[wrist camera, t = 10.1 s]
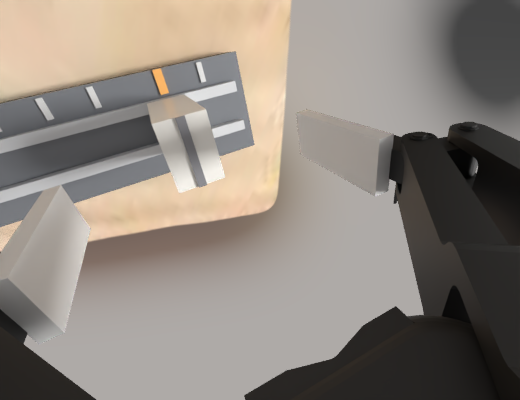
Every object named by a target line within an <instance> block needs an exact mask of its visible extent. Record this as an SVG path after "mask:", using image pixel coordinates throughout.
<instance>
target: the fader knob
mask: <svg viewBox="0 0 520 400" xmlns="http://www.w3.org/2000/svg"><path fill="white" fill-rule="evenodd" d="M147 106H148V111H149V115H150V120H151V124H152V127H153V129H154V132H155V134H156V137H157V139H158V142H159V144H160V147H161V149H162V152H163V154H164V157H165V159H166V162H167V164H168V166H169V169H170V171H171V174H172V176H173V179H174V181H175V184H176V186H177V189H178V191H179V193H181V192H184V191H187V190H190V189H193V188H196V187H202V186H205V185H207V183H210V182H213V181H216V180H219V179H222V178H225V174H224V171H223V167H222V164H221V160H220V157H219V153H218V150H217V146H216V143H215V139H214V136H213V132H212V128H211V125H210V121H209V118H208V114H207V111H206V109H205V108H204V107H202V106H201V105H199V104H198V103H196V102H195V101H193V100H192V99H190V98H189V97H187V96H186V95H184V94H183V95H179V96H175V97H171V98H167V99H163V100H159V101H155V102H151V103H147Z"/></svg>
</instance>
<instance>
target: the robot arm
mask: <svg viewBox="0 0 520 400" xmlns="http://www.w3.org/2000/svg"><path fill="white" fill-rule="evenodd" d="M296 116H297V126H298V136H299V145H300V154H301V155H303V156H304V157H306V158H308V159H310V160H312V161H313V162H315V163H317V164H319V165H321V166H322V167H324V168H326V169H327V170H329V171H331V172H333V173H334V174H336V175H338V176H340V177H341V178H344V179H345V180H347V181H349V182H350V183H352V184H354V185H356V186H357V187H359V188H361V189H363V190H365V191H367V192H368V193H370V194H372V195H373V196H378V195H380V194H382V193H384V192H387V191H388V186H389V179H391V180H393V181H396V188H395V196H394V204H395V203H397V201H398V204H399V208H400V212H401V217H402V220H403V225H404V229H405V233H406V238H407V242H408V247H409V251H410V255H411V259H412V264H413V268H414V272H415V276H416V281H417V285H418V289H419V293H420V298H421V302H422V306H423V312H424V315H416V316H408V317H407V316H406V315H405V314H403V313H402V312H401V311H400V310H399V309H398V308H397V307H394V308H392V309H390V310H389V311H387V312H385V313H384V314H382V315H380V316H379V317H377V318H375V319H373V320H372V321H370V322H368V323H367V324H365V325H363V326H362V328H361V329H360V330H359V331H358V332H357V333H356V334H355V336H354V337H353V338H352V339H351V340H350V341H349V342H348V343H347V345H346V346H345V347H344V348H343V349H342V350H341V351H340V353H339V354H338V355H337V356H336V357H334V358H333V359H330V360H326V361H322V362H318V363H314V364H311V365H307V366H303V367H299V368H295V369H291V370H287V371H285V372H284V373H282V374H280V375H278V376H277V377H275V378H273V379H271V380H270V381H268V382H266V383H265V384H263V385H261V386H260V387H258V388H256V389H254V390H253V391H251V392H249V393H248V394H246V395H245V396H244V397H245V400H520V141H518V140H516V139H514V138H512V137H510V136H507V135H505V134H503V133H501V132H498V131H496V130H494V129H492V128H490V127H488V126H485V125H482V124H477V123H474V122H464V123H458V124H454V125H452V126H450V128H449V133H448V137H443V138H437V137H436V136H435V135H434V134H431V133H425V132H413V133H408V134H405V135H403V136H402V137H399V136H396V135H394V134H391V133H388V132H385V131H381V130H378V129H374V128H371V127H367V126H364V125H360V124H356V123H353V122H350V121H346V120H342V119H339V118H335V117H332V116H328V115H325V114H322V113H317V112H314V111H311V110H303V111H300V112H297V113H296ZM477 165H478V171H477V174H476V173H475V171H476V168H477ZM90 229H91V228H90V227H89V225H88V224H87V223H86V221H85V220H84V218H83V217H82V215H81V214H80V212H79V211H78V209H77V208H76V206H75V205H74V203H73V202H72V200H71V199H70V197H69V196H68V194H67V193H66V191H65V190H64V188H63V187H62V186H61V185H59V186H56V187H52V188H49V189H46V190H43V192H42V193H41V195H40V196H39V197H38V199H37V200H36V202H35V203H34V205H33V206H32V208H31V209H30V211H29V212H28V213H27V215H26V216H25V218H24V219H23V221H22V222H21V224H20V225H19V227H18V228H17V230H16V231H15V232H14V234H13V235H12V237H11V238H10V240H9V241H8V243H7V244H6V246H5V247H4V248H3V250H2V251H1V252H0V400H96V399H95V398H93V397H92V396H91V395H89V394H88V393H87V392H86V391H84V390H83V389H81V388H80V387H79V386H78V385H76V384H75V383H73V382H72V381H71V380H70V379H68V378H67V377H66V376H64V375H63V374H62V373H61V372H59V371H58V370H57V369H55V368H54V367H53V366H51V365H50V364H48V363H47V362H46V361H45V360H43V359H42V358H41V357H39V356H38V355H37V354H36V353H34V352H33V351H32V350H30V349H29V348H28V347H26V346H25V345H24V341H25V338H26V336H27V335H29V336H30V337H31V338H32V339H33V340H35V341H36V342H37V343H38V344H41V343H43V342H45V341H47V340H50V339H52V338H54V337H57V336H59V335H61V334H63V333H65V329H66V325H67V321H68V317H69V313H70V309H71V305H72V301H73V297H74V293H75V289H76V285H77V281H78V277H79V273H80V269H81V265H82V261H83V257H84V253H85V249H86V245H87V241H88V237H89V233H90Z"/></svg>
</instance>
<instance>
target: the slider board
mask: <svg viewBox="0 0 520 400" xmlns="http://www.w3.org/2000/svg"><path fill="white" fill-rule="evenodd" d="M183 94H184V95H186V96H187V97H189V98H190V99H192V100H193V101H195V102H196V103H198V104H199V105H201V106H202V107H204V108H205V109H206V111H207V114H208V118H209V121H210V125H211V128H212V132H213V136H214V139H215V143H216V146H217V150H218V153H219V156H222V155H225V154H228V153H231V152H234V151H237V150H240V149H243V148H246V147H249V146H253V145H254V140H253V135H252V130H251V125H250V120H249V115H248V110H247V105H246V100H245V95H244V90H243V86H242V81H241V76H240V71H239V66H238V61H237V56H236V51H235V52H228V53H223V54H219V55H214V56H210V57H205V58H201V59H196V60H192V61H187V62H183V63H178V64H174V65H169V66H165V67H160V68H156V69H151V70H147V71H142V72H138V73H133V74H129V75H124V76H120V77H115V78H111V79H106V80H102V81H97V82H93V83H88V84H84V85H79V86H75V87H70V88H66V89H62V90H57V91H53V92H48V93H44V94H39V95H35V96H30V97H26V98H21V99H17V100H12V101H8V102H3V103H0V227H2V226H5V225H8V224H11V223H14V222H17V221H21V220H23V219H24V218H25V216H26V215H27V213H28V212H29V211H30V209H31V208H32V206H33V205H34V203H35V202H36V200H37V199H38V197H39V196H40V195H41V193H42V192H43V190H46V189H49V188H52V187H56V186H59V185H61V186H62V187H63V188H64V190H65V191H66V193H67V194H68V196H69V197H70V199H71V200H72V202H73V203H76V202H79V201H82V200H85V199H89V198H92V197H95V196H98V195H101V194H104V193H107V192H110V191H113V190H116V189H120V188H123V187H126V186H129V185H132V184H135V183H138V182H141V181H144V180H147V179H150V178H154V177H157V176H160V175H163V174H166V173H169V172H171V171H170V169H169V166H168V164H167V162H166V159H165V157H164V154H163V152H162V149H161V147H160V144H159V142H158V139H157V137H156V134H155V132H154V129H153V127H152V124H151V120H150V115H149V111H148V106H147V103H151V102H155V101H159V100H163V99H167V98H171V97H175V96H179V95H183Z"/></svg>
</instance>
